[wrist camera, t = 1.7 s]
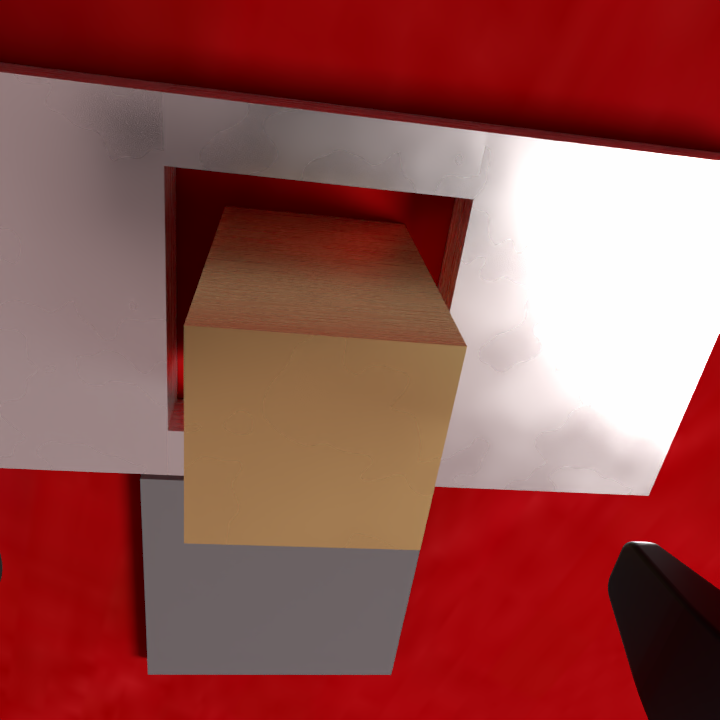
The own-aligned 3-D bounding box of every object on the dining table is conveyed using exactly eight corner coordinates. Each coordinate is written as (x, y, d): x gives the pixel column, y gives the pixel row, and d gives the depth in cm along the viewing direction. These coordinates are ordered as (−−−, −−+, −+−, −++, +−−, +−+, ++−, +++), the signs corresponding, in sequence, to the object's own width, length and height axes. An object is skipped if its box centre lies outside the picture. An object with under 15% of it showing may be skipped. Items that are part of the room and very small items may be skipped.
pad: (429, 479, 21) (433, 491, 20) (389, 660, 25) (391, 674, 25) (144, 466, 20) (140, 479, 19) (151, 659, 24) (148, 674, 23)
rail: (747, 156, 17) (789, 169, 15) (625, 463, 21) (648, 495, 20) (-188, 38, 14) (-243, 42, 12) (-93, 427, 18) (-125, 462, 17)
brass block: (404, 223, 17) (466, 346, 11) (379, 375, 19) (420, 550, 13) (225, 205, 16) (183, 325, 10) (220, 364, 18) (184, 543, 12)
